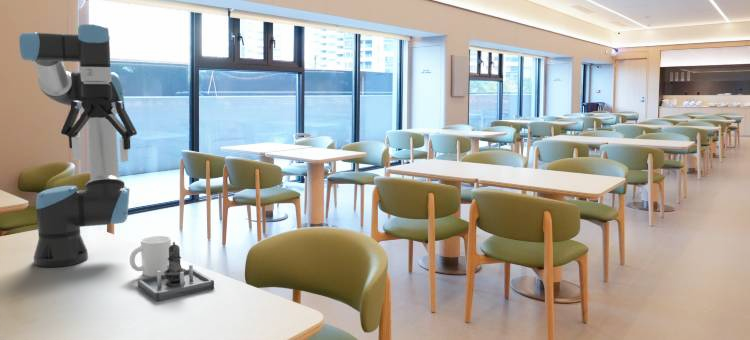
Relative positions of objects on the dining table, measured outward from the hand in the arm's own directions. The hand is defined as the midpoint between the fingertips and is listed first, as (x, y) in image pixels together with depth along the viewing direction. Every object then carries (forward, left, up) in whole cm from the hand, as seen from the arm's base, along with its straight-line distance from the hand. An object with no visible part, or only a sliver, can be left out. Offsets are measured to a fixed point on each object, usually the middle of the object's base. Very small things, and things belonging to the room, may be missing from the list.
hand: (100, 161), depth 163 cm
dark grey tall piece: (+17, +13, -34) cm, 40 cm away
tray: (+17, +13, -35) cm, 41 cm away
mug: (+1, +12, -35) cm, 37 cm away
